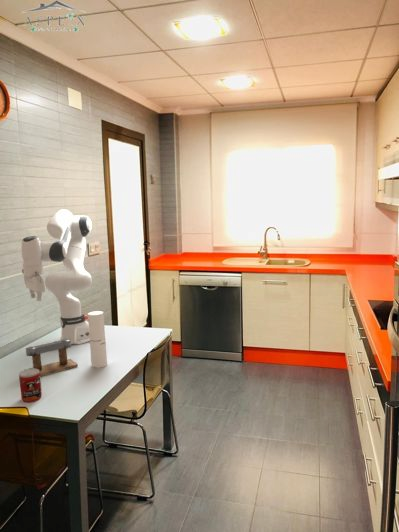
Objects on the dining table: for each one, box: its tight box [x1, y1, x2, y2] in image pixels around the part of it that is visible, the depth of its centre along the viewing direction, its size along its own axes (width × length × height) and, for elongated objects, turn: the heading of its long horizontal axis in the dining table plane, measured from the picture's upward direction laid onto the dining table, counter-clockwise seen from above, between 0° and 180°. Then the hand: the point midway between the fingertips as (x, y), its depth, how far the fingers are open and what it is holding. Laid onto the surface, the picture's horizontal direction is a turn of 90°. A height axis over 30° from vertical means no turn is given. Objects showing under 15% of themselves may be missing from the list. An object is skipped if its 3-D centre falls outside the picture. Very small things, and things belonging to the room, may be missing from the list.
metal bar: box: [25, 339, 72, 357], centre depth 208 cm, size 20×4×3 cm, turn 126°
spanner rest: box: [24, 348, 79, 377], centre depth 209 cm, size 22×10×9 cm, turn 126°
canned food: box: [18, 367, 43, 403], centre depth 179 cm, size 8×8×11 cm
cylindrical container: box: [87, 310, 108, 368], centre depth 212 cm, size 7×7×25 cm
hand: (36, 299), depth 216 cm, fingers open, 8 cm apart
